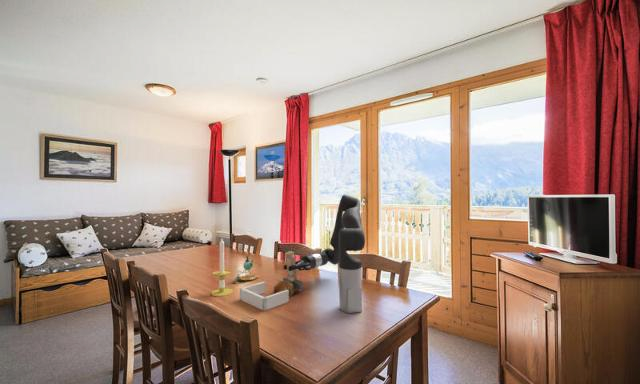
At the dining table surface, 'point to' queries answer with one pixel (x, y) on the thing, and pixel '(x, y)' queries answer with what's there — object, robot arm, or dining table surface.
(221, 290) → the candle
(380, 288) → the dining table surface
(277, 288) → the bread roll
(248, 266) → the frog figurine
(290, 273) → the scraper
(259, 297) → the box
